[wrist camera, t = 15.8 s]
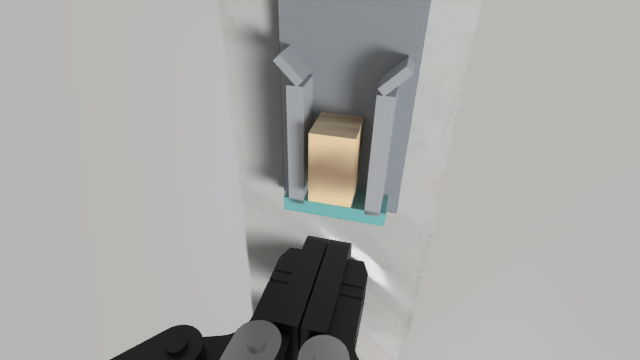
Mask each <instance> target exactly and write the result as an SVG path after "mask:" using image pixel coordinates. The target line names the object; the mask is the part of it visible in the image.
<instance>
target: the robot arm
mask: <svg viewBox="0 0 640 360" xmlns="http://www.w3.org/2000/svg"><path fill="white" fill-rule="evenodd" d="M350 257H351V243H346V242H341V241H335V240H330V241H329V239H324V238H319V237H313V236H308V237H307V239H306V241H305V244H304V246H303V248H302V250H300V249H295V248H290V249H289V250H287V251H286V252H285V253H284V254H283V255H282V256H281V257H280V258H279V260H278V262H277V265H276V267H275V269H274V271H273V273H272V275H271V277H270V281H269V282H268V284H267V286H266V288H265V290H264V293H263V295H262V297H261V299H260V301H259V303H258V305H257V308H256V310H255V312H254V314H253V316H252V318H251V320H250V321H249V322H247V323H245V324H244V325H242V326H241V327H240V328H239V329H238V330H237V331H236V332H235V333H232V334H229V335H223V336H212V337H202V335H201V333H200V332H199V331H198V330H197V329H196V328H194V327H193V326H189V325H178V326H174V327H171V328H169V329H167V330H165V331H163V332H161V333H159V334H158V335H156V336H154V337H152V338H150V339H148V340H146V341H144V342H142V343H141V344H139V345H137V346H135V347H133V348H131V349H129V350H127V351H126V352H124V353H122V354H120V355H118V356H116V357H114V358H112V359H111V360H359V359H358V357H357V355H356V352H355V348H356V342H357V337H358V332H359V327H360V321H361V316H362V311H363V306H364V299H365V291H366V283H367V276H368V274H367V271H366V268H365V264H364V262H362V261H357V260H352V259H350Z"/></svg>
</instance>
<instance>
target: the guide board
mask: <svg viewBox="0 0 640 360" xmlns="http://www.w3.org/2000/svg"><path fill="white" fill-rule="evenodd" d="M430 3H431V0H278V15H279V45H280V54H279V55H278V56H277V57H276V58H275V59H274V60H273V62H274V63H275V64H276V65H277V66H278V67H279V68H280V74H281V103H282V132H283V162H284V191H285V196H284V207H285V209H287V210H293V211H299V212H305V213H310V214H316V215H322V216H328V217H333V218H339V219H345V220H351V221H356V222H362V223H368V224H374V225H380V226H384V221H385V216H386V212H391V213H396V211H397V205H398V199H399V193H400V186H401V180H402V174H403V168H404V162H405V156H406V150H407V144H408V137H409V131H410V125H411V119H412V113H413V107H414V101H415V95H416V88H417V82H418V76H419V70H420V64H421V58H422V52H423V46H424V39H425V33H426V27H427V21H428V15H429V9H430ZM321 112H327V113H335V114H343V115H351V116H360V117H364V127H363V138H362V149H361V160H360V171H359V182H358V185H357V188H356V192H355V195H354V198H353V202H352V205H351V208H348V207H342V206H336V205H330V204H324V203H318V202H312V201H308V133H309V131H310V130H311V128H312V126H313V125H314V123H315V122H316V120H317V118H318V117H319V115H320V113H321Z"/></svg>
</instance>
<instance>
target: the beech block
mask: <svg viewBox="0 0 640 360" xmlns="http://www.w3.org/2000/svg"><path fill="white" fill-rule="evenodd" d="M363 127H364V117H360V116H351V115H343V114H335V113H327V112H321V113H320V115H319V117H318V118H317V120H316V122H315V123H314V125H313V126H312V128H311V130H310V131H309V133H308V201H312V202H318V203H324V204H330V205H336V206H342V207H348V208H351V205H352V202H353V198H354V195H355V192H356V188H357V185H358V182H359V171H360V160H361V149H362V138H363Z"/></svg>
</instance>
